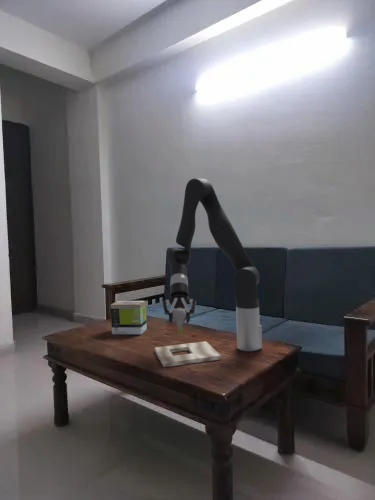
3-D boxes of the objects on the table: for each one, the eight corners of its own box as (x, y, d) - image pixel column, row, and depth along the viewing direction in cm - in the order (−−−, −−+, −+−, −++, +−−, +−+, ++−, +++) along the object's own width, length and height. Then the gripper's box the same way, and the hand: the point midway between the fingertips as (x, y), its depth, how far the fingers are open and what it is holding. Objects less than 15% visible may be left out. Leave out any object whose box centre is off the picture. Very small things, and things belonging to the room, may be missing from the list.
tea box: (147, 329, 179) (146, 300, 178) (141, 335, 169) (139, 304, 168) (118, 328, 182) (117, 300, 181) (111, 334, 172) (109, 304, 171)
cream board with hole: (206, 344, 152) (205, 341, 152) (220, 359, 135) (220, 355, 135) (155, 351, 146) (154, 347, 146) (163, 367, 129) (163, 363, 129)
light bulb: (175, 330, 144) (174, 306, 143) (188, 331, 143) (187, 306, 142) (171, 334, 139) (170, 309, 138) (184, 335, 137) (183, 310, 137)
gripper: (161, 282, 147) (160, 318, 136) (196, 281, 147) (198, 317, 136) (162, 292, 152) (161, 328, 141) (196, 291, 153) (198, 327, 141)
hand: (179, 322), depth 139 cm, fingers closed on light bulb, 5 cm apart
